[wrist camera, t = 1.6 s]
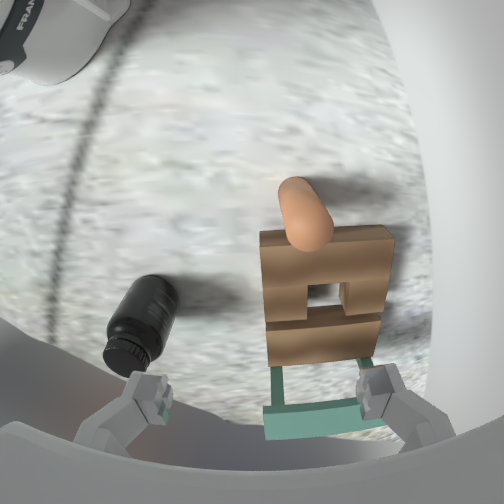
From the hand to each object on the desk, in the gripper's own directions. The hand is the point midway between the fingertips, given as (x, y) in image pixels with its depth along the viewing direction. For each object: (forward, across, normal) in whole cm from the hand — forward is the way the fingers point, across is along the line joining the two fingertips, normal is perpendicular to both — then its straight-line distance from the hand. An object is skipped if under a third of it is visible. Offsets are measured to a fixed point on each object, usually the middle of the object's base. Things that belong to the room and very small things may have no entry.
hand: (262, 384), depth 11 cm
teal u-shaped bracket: (+23, -7, +18) cm, 30 cm away
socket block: (+23, -7, +10) cm, 26 cm away
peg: (+22, -3, -2) cm, 23 cm away
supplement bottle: (+23, +14, +10) cm, 29 cm away
